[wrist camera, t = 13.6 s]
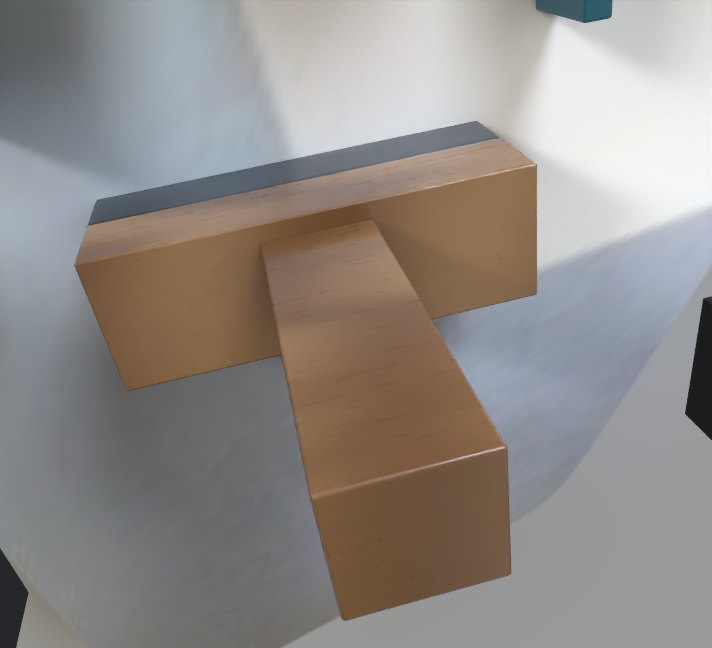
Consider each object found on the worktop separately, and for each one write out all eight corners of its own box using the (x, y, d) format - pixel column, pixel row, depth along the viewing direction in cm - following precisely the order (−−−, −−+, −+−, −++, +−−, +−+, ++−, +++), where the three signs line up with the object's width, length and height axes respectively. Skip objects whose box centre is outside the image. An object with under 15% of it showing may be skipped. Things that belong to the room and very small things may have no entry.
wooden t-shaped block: (138, 312, 22) (80, 716, 11) (95, 199, 20) (-29, 557, 9) (482, 234, 24) (749, 528, 12) (476, 120, 21) (794, 348, 10)
